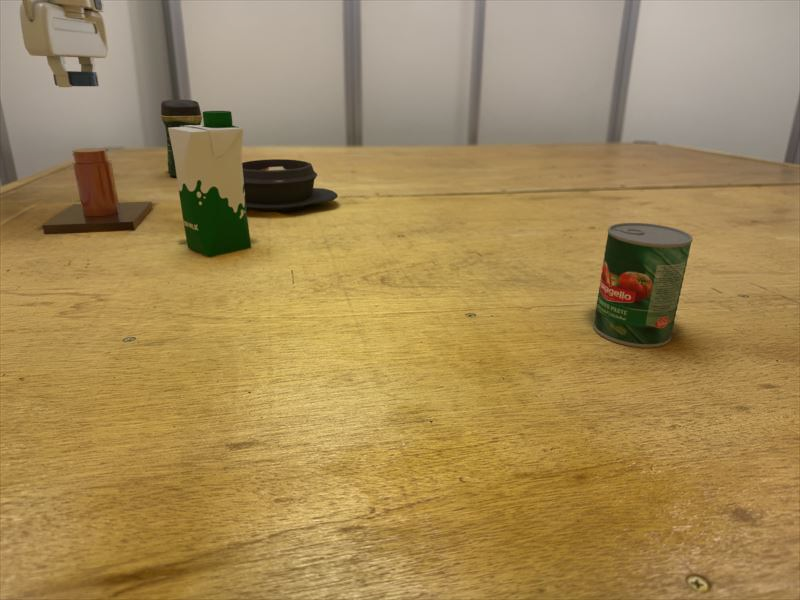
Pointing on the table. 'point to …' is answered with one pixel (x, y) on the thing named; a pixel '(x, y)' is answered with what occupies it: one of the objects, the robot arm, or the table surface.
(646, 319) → the canned tomato
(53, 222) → the board
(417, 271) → the table surface
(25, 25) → the robot arm
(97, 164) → the honey jar
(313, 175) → the casserole
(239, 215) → the milk carton
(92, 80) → the lid
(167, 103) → the coffee jar
